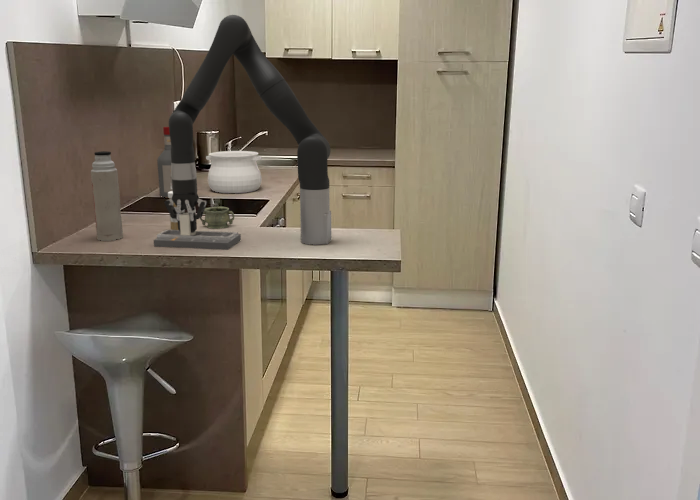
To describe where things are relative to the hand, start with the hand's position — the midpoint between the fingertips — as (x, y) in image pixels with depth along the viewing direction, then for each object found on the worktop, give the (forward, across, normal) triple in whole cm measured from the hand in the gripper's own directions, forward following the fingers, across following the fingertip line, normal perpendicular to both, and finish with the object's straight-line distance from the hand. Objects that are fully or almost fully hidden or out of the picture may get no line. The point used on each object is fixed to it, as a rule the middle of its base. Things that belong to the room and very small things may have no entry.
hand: (187, 231), depth 215 cm
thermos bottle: (+4, +28, -2) cm, 28 cm away
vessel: (+4, 0, -25) cm, 25 cm away
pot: (+4, +20, -101) cm, 103 cm away
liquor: (+4, +41, -79) cm, 89 cm away
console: (+4, -3, 0) cm, 5 cm away
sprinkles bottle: (+4, +11, -16) cm, 20 cm away
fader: (+1, 0, 0) cm, 1 cm away
